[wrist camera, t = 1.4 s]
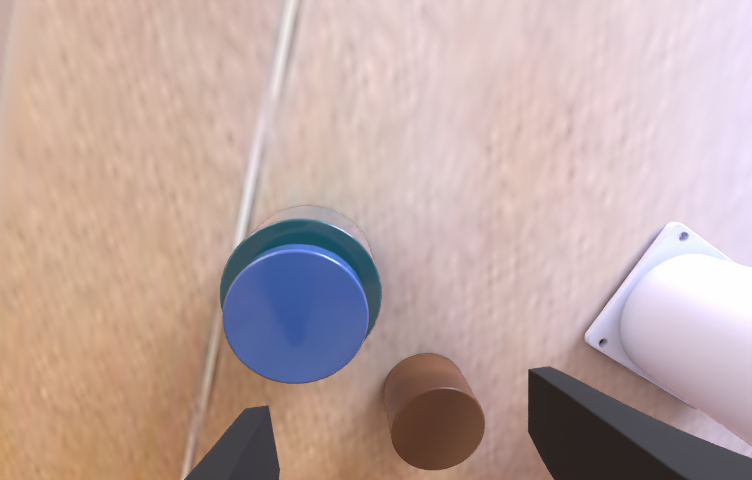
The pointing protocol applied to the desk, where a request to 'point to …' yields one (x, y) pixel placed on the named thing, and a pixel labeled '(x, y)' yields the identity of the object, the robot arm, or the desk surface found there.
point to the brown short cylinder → (432, 412)
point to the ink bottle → (300, 295)
